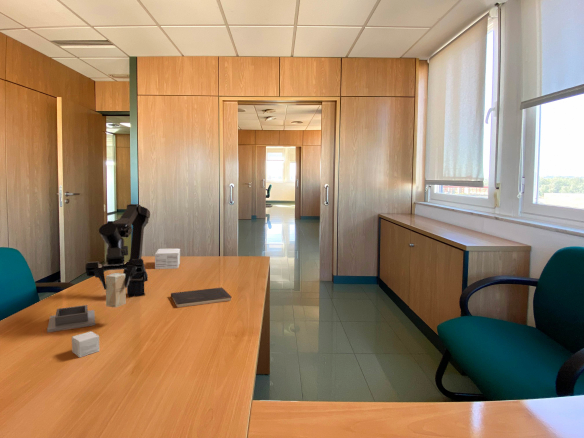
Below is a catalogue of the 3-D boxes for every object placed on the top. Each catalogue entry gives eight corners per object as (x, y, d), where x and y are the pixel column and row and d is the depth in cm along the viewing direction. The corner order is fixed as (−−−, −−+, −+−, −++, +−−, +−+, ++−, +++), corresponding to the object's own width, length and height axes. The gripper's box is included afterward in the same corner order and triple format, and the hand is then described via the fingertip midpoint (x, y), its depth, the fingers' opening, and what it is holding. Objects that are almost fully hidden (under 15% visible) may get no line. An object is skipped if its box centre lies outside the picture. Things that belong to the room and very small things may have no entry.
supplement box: (178, 268, 213) (178, 253, 212) (154, 269, 210) (154, 253, 209) (180, 262, 229) (180, 247, 228) (158, 263, 226) (158, 248, 225)
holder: (94, 312, 139) (93, 302, 138) (95, 325, 127) (94, 314, 126) (50, 318, 132) (50, 307, 131) (47, 332, 120) (46, 320, 119)
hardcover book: (231, 301, 156) (231, 296, 156) (176, 309, 146) (176, 303, 146) (221, 291, 170) (221, 286, 170) (170, 297, 160) (170, 292, 160)
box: (115, 308, 125) (114, 277, 124) (105, 306, 127) (104, 275, 125) (126, 303, 130) (125, 273, 129) (117, 301, 132) (116, 272, 130)
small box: (91, 345, 111) (91, 330, 111) (100, 351, 107) (99, 335, 107) (71, 352, 107) (70, 336, 106) (79, 358, 103) (78, 341, 103)
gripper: (84, 239, 126) (82, 278, 117) (142, 237, 133) (144, 274, 124) (88, 257, 134) (86, 295, 125) (142, 254, 141) (144, 289, 132)
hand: (115, 288), depth 126 cm, fingers closed on box, 6 cm apart
